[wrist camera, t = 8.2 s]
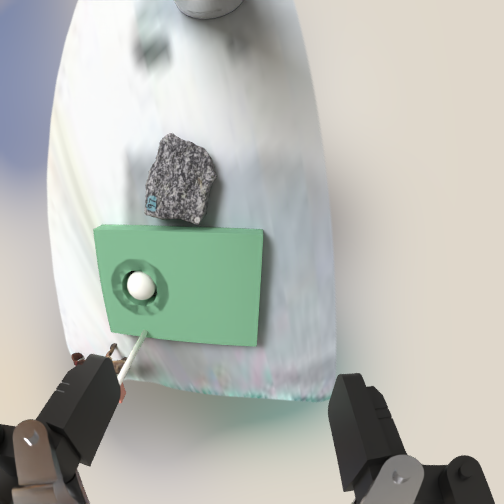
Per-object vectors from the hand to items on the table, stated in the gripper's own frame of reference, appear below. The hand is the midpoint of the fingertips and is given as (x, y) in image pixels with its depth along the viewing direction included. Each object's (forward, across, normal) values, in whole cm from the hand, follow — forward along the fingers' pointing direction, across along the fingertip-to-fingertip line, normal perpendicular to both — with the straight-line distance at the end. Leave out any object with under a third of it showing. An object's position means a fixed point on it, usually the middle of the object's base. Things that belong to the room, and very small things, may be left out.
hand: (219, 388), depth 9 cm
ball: (+26, +14, +10) cm, 31 cm away
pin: (+26, +14, +18) cm, 34 cm away
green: (+28, +9, +10) cm, 31 cm away
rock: (+29, +8, -4) cm, 30 cm away
